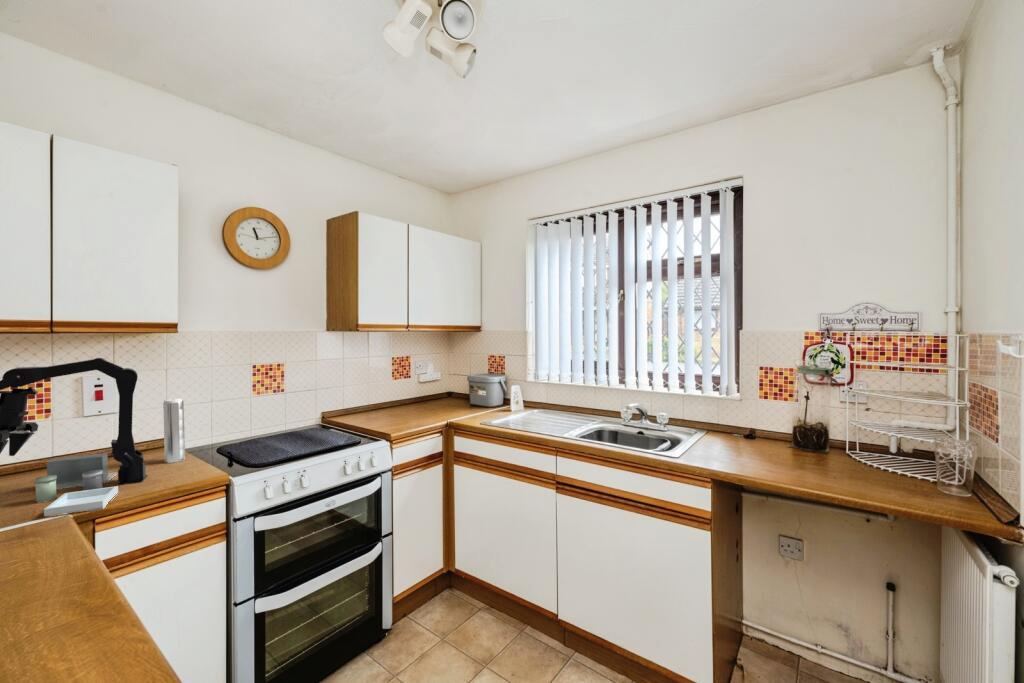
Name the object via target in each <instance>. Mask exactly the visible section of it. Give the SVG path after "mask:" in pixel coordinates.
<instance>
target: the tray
mask: <svg viewBox="0 0 1024 683" xmlns="http://www.w3.org/2000/svg"><path fill="white" fill-rule="evenodd" d="M117 493H118V494H119V486H118V485H116V486H110V487H109V486H108V487H102V488H100V489H92V490H85V491H84V490H80V491H78V490H77V491H71V492H64V493H63V494H62V495H61V496H59V497H58V498H56V499H54V500H53V502H51V504H49V505H48V506H46V507H45V508H43V517H44V516H48V515H53V514H59V513H72V512H77V511H87V512H93V511H100V510H104V509H105V508H106V507H107V506H108V505H109V504H108V502H109V501H110V500H111V499H112V498H113V497H114V496H115V495H116V494H117ZM118 494H117V495H118ZM117 495H116V496H117ZM116 496H115V497H116ZM115 497H114V498H115ZM114 498H113V499H114ZM113 499H112V500H113ZM112 500H111V501H112ZM107 504H108V505H107ZM106 505H107V506H106ZM88 510H89V511H88Z"/></svg>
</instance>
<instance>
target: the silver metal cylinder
mask: <svg viewBox="0 0 1024 683" xmlns="http://www.w3.org/2000/svg"><path fill="white" fill-rule="evenodd" d="M184 402H185V400H182V398H170V399H169V398H168V399H165V400H163V403H162V406H163V437H164V438H163V440H164V441H163V442H164V463H166V462H167V464H173V462H174V463H179V462H183V461H184V460H186V441H185V440H186V439H185V436H186V434H185V408H184V407H185V406H184Z"/></svg>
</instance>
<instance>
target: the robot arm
mask: <svg viewBox="0 0 1024 683" xmlns="http://www.w3.org/2000/svg"><path fill="white" fill-rule="evenodd" d="M90 371H91V372H92V371H98V372H101V373H102V374H104V375H106V376H108V377H110V378H112V379H115V383H116V388H117V392H118V397H119V398H118V428H117V429H118V432H117V433H118V434H117V438H116V439H111V442H110V445H111V452H110V456H113V457H112V458H113V459H114V460H115V461H116V462H117V463H121V464H120V465H119V469H118V470H117V477H118V478H117V479H118V480H117V481H118V485H126V484H125V483H127V484H133V482H135V483H141V481H142V482H143V481H144V480H146V478H147V477H148V475H147V474H146V473H147V472H146V460H144V453H143V452H142V451H139V450H138V449H136V445H135V440H134V436H133V408H134V407H133V404H134V393H135V389H136V386H137V381H138V373H137V370H135V369H134V368H131V367H125V368H124V367H123V366H122V367H121V366H120V365H118V364H115V363H113V362H111V361H108V360H106V358H103V357H96V358H93V359H86V360H81V361H73V362H68V363H62V364H61V363H60V364H57V365H56V364H55V365H48V366H21V367H15V368H12V369H9V370H6V372H5V373H4V374H3V375H2V378H1V380H0V455H1V453H2V452H3V451H4V449H5V447H6V445H7V444H8V443H9V446H8V455H9V456H10V457H15V456H16V454H18V452H19V451H20V450H21V448H22V447H23V446H24V445H25V444H26V443H27V442H28V441H29V439H30V438H31V437H32V436H33V435H35V432H38V429H39V424H38V423H37V422H36V421H25V416H26V415H29V410H27V405H28V399H29V395H31V396H33V395H34V396H35V395H37V394H38V393H39V391H37V390H36V389H35V388H34V387H33V386H32V385H31V384H34V383H37V382H41V381H44V380H47V379H51V378H57V377H63V376H68V375H74V374H81V373H86V372H90ZM28 385H31V386H29V387H28V388H21V387H24V386H28ZM7 388H12V390H5V389H7Z"/></svg>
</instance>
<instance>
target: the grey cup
mask: <svg viewBox="0 0 1024 683" xmlns="http://www.w3.org/2000/svg"><path fill="white" fill-rule="evenodd" d="M102 474H103V470H93V471H88V472H85V473H83V474H82V478H83V486H82V487H83V491H85V490H92V489H100V488H103V483H102Z"/></svg>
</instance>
